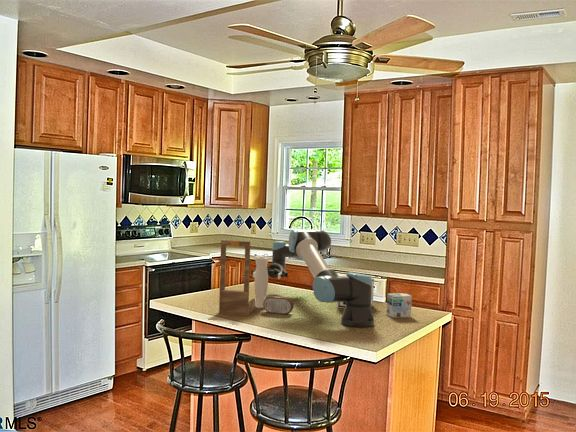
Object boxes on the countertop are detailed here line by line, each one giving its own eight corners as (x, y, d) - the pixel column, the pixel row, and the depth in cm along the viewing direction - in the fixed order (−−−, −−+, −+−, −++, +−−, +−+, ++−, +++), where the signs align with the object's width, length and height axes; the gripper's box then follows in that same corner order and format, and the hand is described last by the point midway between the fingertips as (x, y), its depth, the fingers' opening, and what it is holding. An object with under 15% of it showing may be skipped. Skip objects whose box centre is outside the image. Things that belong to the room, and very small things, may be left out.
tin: (293, 314, 270) (294, 297, 269) (291, 315, 267) (292, 298, 266) (264, 311, 274) (264, 294, 273) (262, 312, 271) (262, 295, 270)
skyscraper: (271, 308, 280) (273, 253, 279) (256, 309, 277) (257, 254, 276) (265, 305, 288) (267, 252, 287) (251, 305, 285) (252, 252, 284)
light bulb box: (391, 317, 269) (392, 296, 268) (385, 314, 275) (386, 293, 275) (411, 317, 272) (412, 295, 271) (405, 314, 278) (406, 293, 278)
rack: (246, 316, 262) (249, 241, 260) (218, 313, 265) (220, 239, 263) (254, 309, 276) (256, 238, 275) (227, 307, 279) (229, 237, 277)
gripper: (296, 278, 310) (288, 284, 289) (253, 275, 315) (243, 281, 294) (296, 265, 309) (289, 270, 289) (253, 262, 314) (243, 267, 293)
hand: (266, 275), depth 291 cm, fingers open, 13 cm apart
